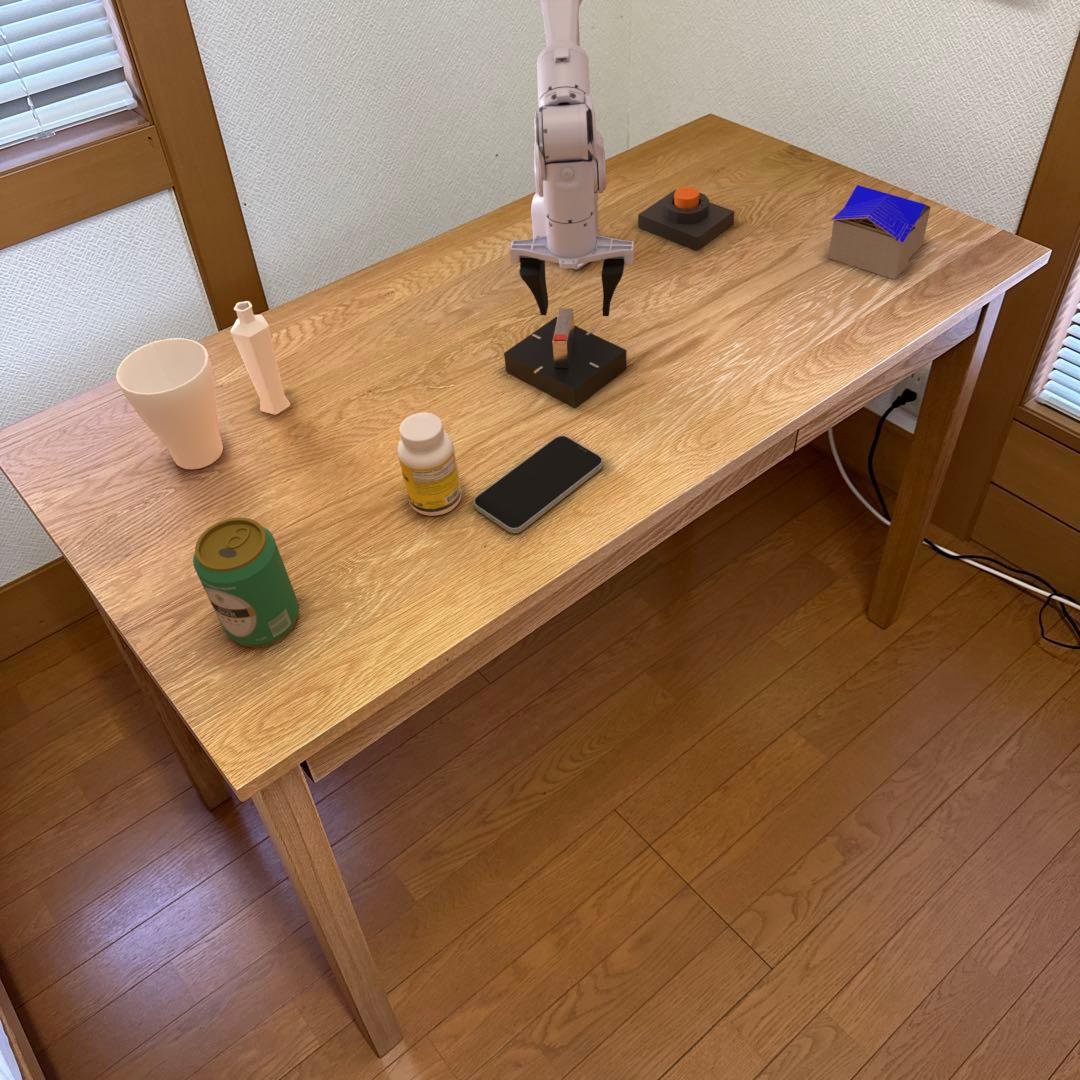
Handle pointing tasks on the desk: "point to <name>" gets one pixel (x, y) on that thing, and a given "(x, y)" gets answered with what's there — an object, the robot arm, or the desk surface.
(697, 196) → the button
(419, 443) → the pill bottle
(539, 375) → the panel
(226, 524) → the beverage can
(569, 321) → the tap handle
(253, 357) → the perfume bottle
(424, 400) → the desk surface
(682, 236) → the button block
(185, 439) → the cup
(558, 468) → the smartphone
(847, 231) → the house
